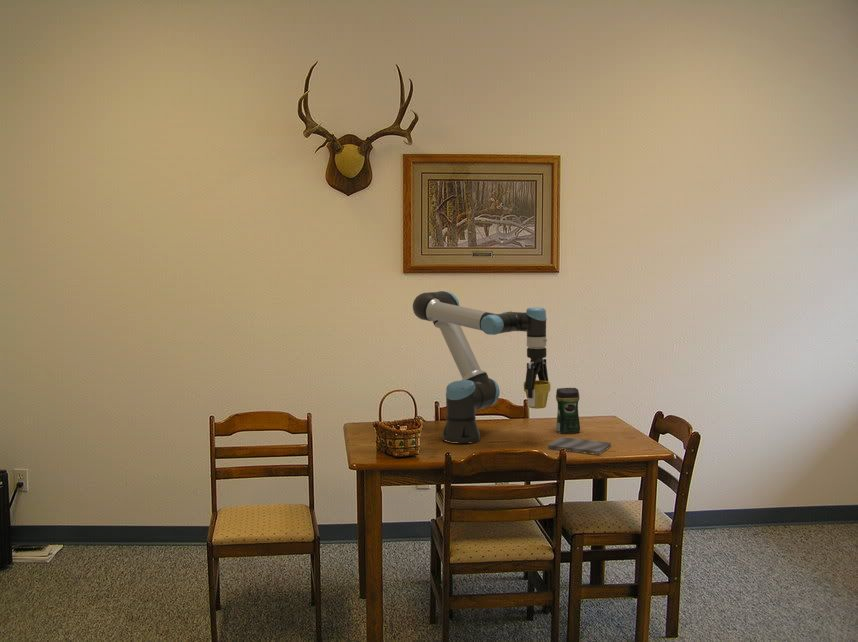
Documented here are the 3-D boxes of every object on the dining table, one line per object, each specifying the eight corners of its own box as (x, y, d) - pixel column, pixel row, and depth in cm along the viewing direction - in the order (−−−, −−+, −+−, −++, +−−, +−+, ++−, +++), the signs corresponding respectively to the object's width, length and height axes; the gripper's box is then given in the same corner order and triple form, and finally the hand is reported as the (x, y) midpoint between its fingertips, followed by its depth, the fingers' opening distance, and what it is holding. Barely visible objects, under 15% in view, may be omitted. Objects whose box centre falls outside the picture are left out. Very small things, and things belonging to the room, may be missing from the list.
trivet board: (547, 448, 274) (547, 445, 274) (561, 440, 286) (561, 436, 286) (599, 455, 264) (599, 451, 263) (610, 446, 275) (610, 442, 275)
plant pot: (523, 409, 277) (523, 384, 276) (523, 404, 287) (523, 380, 286) (550, 409, 276) (550, 384, 275) (550, 404, 286) (550, 380, 285)
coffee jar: (576, 429, 304) (576, 385, 303) (581, 433, 297) (581, 389, 295) (554, 430, 304) (553, 386, 302) (558, 434, 296) (558, 390, 294)
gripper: (533, 351, 268) (534, 409, 270) (556, 344, 287) (557, 399, 289) (515, 350, 272) (515, 408, 274) (539, 343, 291) (539, 397, 293)
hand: (537, 403), depth 281 cm, fingers closed on plant pot, 10 cm apart
